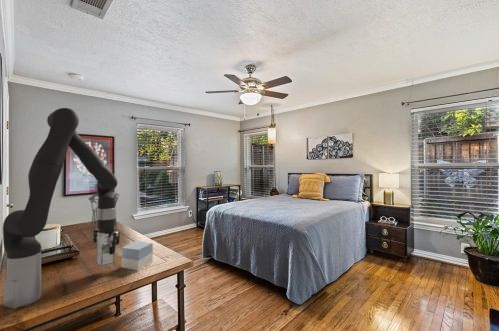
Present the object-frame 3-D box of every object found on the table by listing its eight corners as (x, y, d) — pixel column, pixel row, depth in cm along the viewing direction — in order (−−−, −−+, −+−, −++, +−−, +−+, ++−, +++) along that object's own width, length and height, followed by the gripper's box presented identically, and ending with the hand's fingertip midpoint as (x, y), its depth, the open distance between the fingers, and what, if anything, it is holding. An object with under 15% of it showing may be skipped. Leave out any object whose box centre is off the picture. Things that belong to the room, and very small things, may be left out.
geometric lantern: (119, 237, 165) (120, 186, 164) (115, 245, 150) (116, 189, 149) (92, 239, 159) (93, 187, 158) (85, 247, 144) (86, 190, 143)
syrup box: (109, 259, 116) (110, 229, 116) (114, 262, 112) (115, 231, 112) (96, 263, 112) (97, 232, 112) (101, 266, 108) (101, 234, 108)
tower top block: (138, 260, 114) (138, 249, 114) (121, 257, 117) (121, 247, 117) (152, 252, 124) (152, 243, 124) (136, 250, 127) (136, 241, 127)
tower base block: (138, 270, 114) (138, 260, 114) (121, 267, 117) (121, 257, 117) (152, 262, 124) (152, 253, 124) (137, 260, 127) (137, 250, 127)
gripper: (87, 217, 111) (87, 253, 111) (111, 220, 106) (110, 257, 106) (102, 214, 118) (101, 248, 118) (125, 217, 113) (124, 252, 113)
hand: (105, 252), depth 112 cm, fingers closed on syrup box, 7 cm apart
